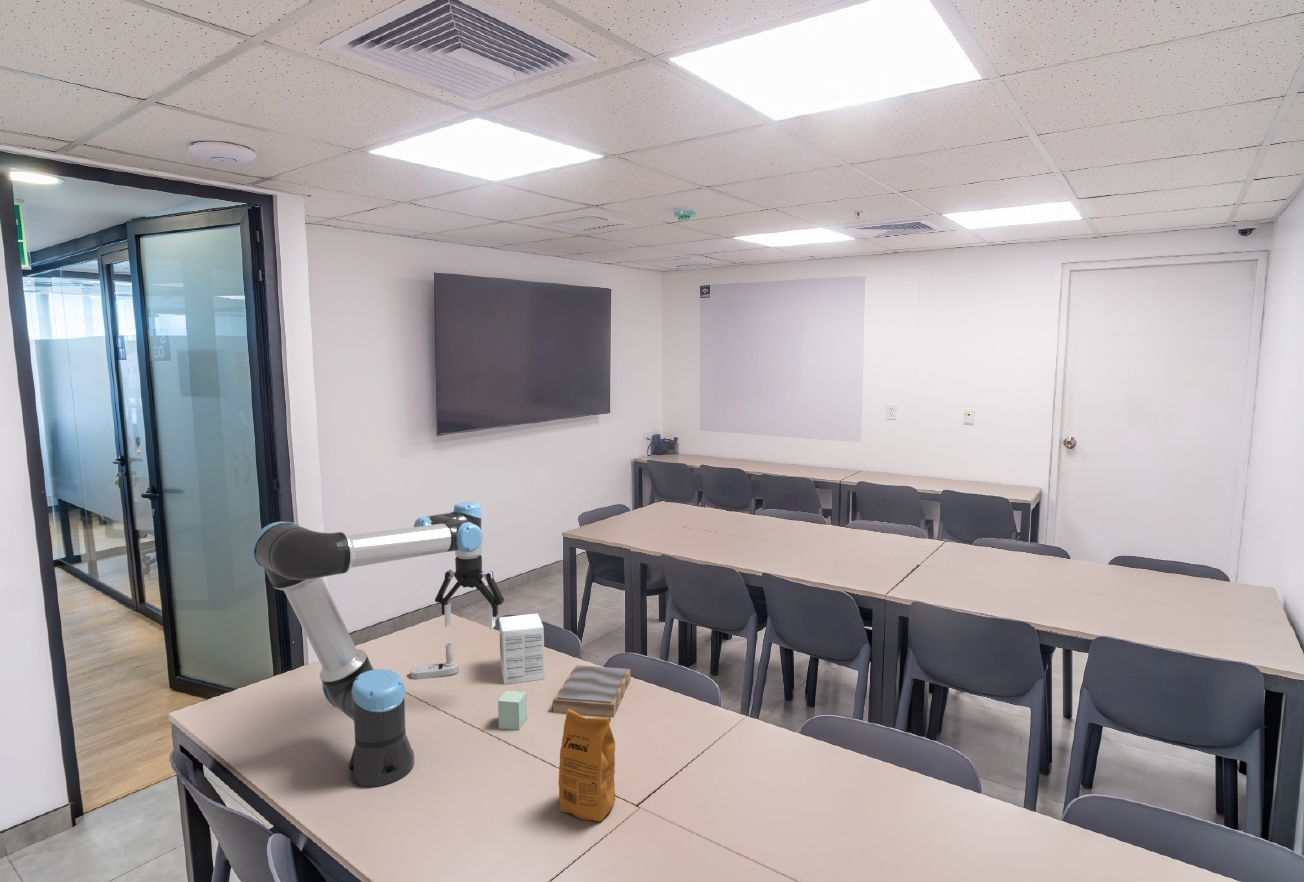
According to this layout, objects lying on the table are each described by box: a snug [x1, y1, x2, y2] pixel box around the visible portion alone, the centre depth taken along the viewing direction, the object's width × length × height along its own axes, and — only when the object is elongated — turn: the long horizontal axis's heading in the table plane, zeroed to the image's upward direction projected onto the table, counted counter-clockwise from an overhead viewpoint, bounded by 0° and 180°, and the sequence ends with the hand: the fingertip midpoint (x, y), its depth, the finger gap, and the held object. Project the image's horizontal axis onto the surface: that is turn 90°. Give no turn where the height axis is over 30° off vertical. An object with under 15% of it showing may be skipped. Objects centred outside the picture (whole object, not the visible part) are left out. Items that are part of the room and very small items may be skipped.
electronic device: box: [410, 642, 460, 680], centre depth 220 cm, size 5×10×15 cm
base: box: [552, 664, 632, 718], centre depth 205 cm, size 24×18×4 cm
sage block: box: [497, 690, 528, 731], centre depth 188 cm, size 6×6×8 cm
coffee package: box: [558, 709, 616, 822], centre depth 151 cm, size 10×12×22 cm
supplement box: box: [498, 613, 545, 685], centre depth 220 cm, size 13×13×18 cm
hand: (470, 626), depth 199 cm, fingers open, 13 cm apart
